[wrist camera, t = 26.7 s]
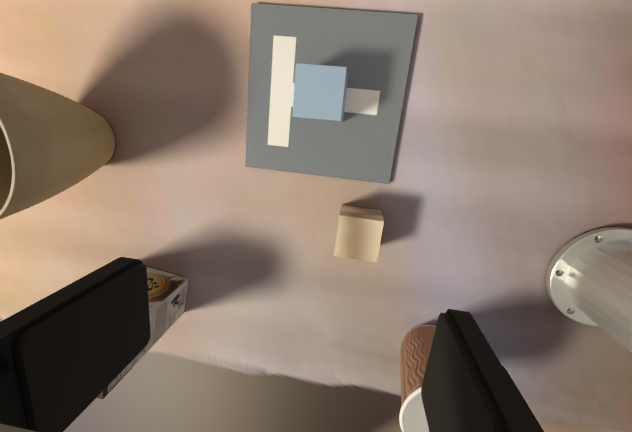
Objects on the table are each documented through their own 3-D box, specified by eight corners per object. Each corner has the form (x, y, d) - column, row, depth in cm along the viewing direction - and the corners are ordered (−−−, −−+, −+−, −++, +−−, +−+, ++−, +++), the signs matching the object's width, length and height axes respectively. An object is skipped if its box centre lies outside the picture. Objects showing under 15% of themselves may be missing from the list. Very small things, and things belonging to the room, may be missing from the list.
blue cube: (348, 75, 35) (346, 67, 30) (343, 121, 36) (340, 120, 31) (304, 72, 35) (295, 63, 30) (301, 118, 37) (292, 116, 32)
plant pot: (35, 69, 40) (-163, 33, 25) (142, 91, 39) (4, 67, 24) (43, 181, 44) (-121, 209, 29) (140, 203, 43) (21, 244, 28)
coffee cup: (444, 385, 45) (474, 474, 33) (377, 359, 45) (384, 438, 34) (479, 329, 42) (524, 406, 30) (407, 302, 42) (425, 367, 31)
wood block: (381, 210, 39) (384, 221, 34) (374, 246, 41) (376, 262, 36) (341, 204, 40) (339, 215, 35) (336, 240, 41) (333, 255, 36)
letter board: (417, 16, 33) (418, 14, 32) (388, 183, 38) (389, 184, 37) (253, 5, 35) (251, 2, 34) (247, 165, 40) (245, 166, 39)
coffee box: (130, 297, 48) (22, 377, 33) (132, 261, 46) (18, 327, 31) (185, 313, 47) (102, 403, 32) (190, 277, 46) (103, 353, 30)
